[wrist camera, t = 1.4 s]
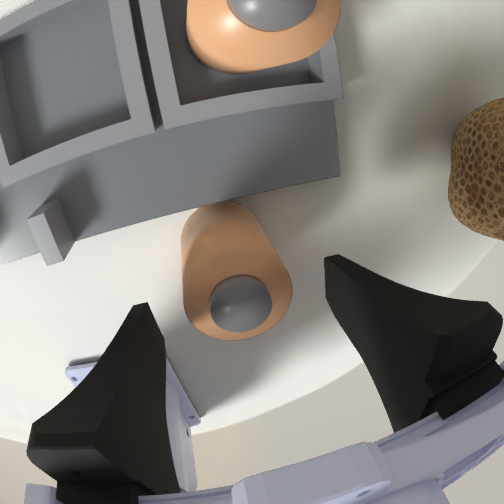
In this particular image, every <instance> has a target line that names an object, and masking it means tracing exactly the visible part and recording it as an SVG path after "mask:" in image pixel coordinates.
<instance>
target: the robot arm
mask: <svg viewBox="0 0 504 504" xmlns="http://www.w3.org/2000/svg"><path fill="white" fill-rule="evenodd" d="M324 267H325V290H326V299H327V301H328V303H329V306H330V308H331V310H332V312H333V314H334V316H335V318H336V319H337V321H338V322H339V324H340V325H341V327H342V328H343V330H344V331H345V333H346V334H347V336H348V337H349V339H350V340H351V342H352V343H353V345H354V346H355V348H356V350H357V351H358V353H359V354H360V356H361V357H362V359H363V361H364V363H365V365H366V367H367V369H368V371H369V373H370V375H371V377H372V379H373V381H374V383H375V386H376V388H377V390H378V392H379V395H380V397H381V399H382V402H383V404H384V407H385V409H386V411H387V414H388V417H389V419H390V422H391V425H392V428H393V431H394V433H393V434H391V435H389V436H387V437H385V438H382V439H380V440H378V441H375V442H373V443H371V442H361V443H358V444H354V445H351V446H347V447H344V448H341V449H339V450H336V451H333V452H330V453H327V454H324V455H322V456H318V457H315V458H312V459H309V460H306V461H302V462H299V463H296V464H292V465H289V466H285V467H282V468H278V469H274V470H270V471H266V472H262V473H259V474H256V475H253V476H250V477H247V478H244V479H243V480H241V481H239V482H238V483H236V484H235V485H230V486H225V487H219V488H213V489H206V490H199V491H196V488H197V477H196V470H195V462H194V455H193V447H192V439H191V430H190V427H191V426H196V425H199V424H200V423H201V420H200V417H199V416H198V414H197V412H196V410H195V409H194V407H193V405H192V403H191V402H190V400H189V398H188V396H187V394H186V393H185V391H184V389H183V387H182V385H181V383H180V382H179V380H178V378H177V376H176V374H175V372H174V370H173V368H172V366H171V365H170V363H169V361H168V359H167V357H166V351H165V342H164V338H163V336H162V333H161V331H160V329H159V327H158V325H157V323H156V320H155V318H154V316H153V314H152V311H151V309H150V307H149V305H148V302H146V303H142V304H138V305H133V307H132V308H131V310H130V312H129V313H128V315H127V317H126V318H125V320H124V322H123V324H122V325H121V327H120V329H119V330H118V332H117V333H116V335H115V337H114V338H113V340H112V342H111V343H110V344H109V346H108V347H107V349H106V350H105V352H104V353H103V355H102V356H101V358H100V359H99V361H98V362H94V363H88V364H82V365H76V366H69V367H67V368H66V369H65V374H66V376H67V377H68V378H69V380H70V381H71V382H72V383H73V385H74V386H75V387H76V388H75V389H74V390H73V391H72V392H71V393H70V394H69V395H68V396H67V397H66V398H64V399H63V400H62V401H61V402H60V403H59V404H58V405H56V406H55V407H54V408H53V409H52V410H50V411H49V412H48V413H46V414H45V415H44V416H42V417H41V418H39V419H38V420H37V421H35V422H34V423H33V424H32V428H31V432H30V437H29V442H28V447H27V456H28V458H29V459H30V460H31V462H32V463H33V464H34V465H36V466H37V467H38V468H39V469H41V470H42V471H44V472H45V473H46V474H48V475H49V476H50V477H52V478H53V479H55V480H57V488H54V487H52V486H47V485H37V484H30V483H28V484H26V490H25V499H24V504H450V503H449V501H448V499H447V497H446V496H445V494H444V492H443V490H442V489H444V488H445V487H447V486H448V485H450V484H451V483H453V482H454V481H456V480H457V479H459V478H460V477H462V476H463V475H465V474H466V473H467V472H469V471H470V470H472V469H473V468H474V467H476V466H477V465H478V464H480V463H481V462H482V461H484V460H485V459H486V458H488V457H489V456H490V455H491V454H493V453H494V452H495V451H496V450H497V449H499V448H500V447H501V446H502V445H504V361H503V362H502V363H501V364H500V365H498V364H497V363H496V361H495V360H496V358H497V355H496V354H495V353H494V351H493V348H494V345H495V343H496V341H497V338H498V336H499V334H500V332H501V329H502V323H503V318H502V315H501V314H500V313H499V312H498V311H497V310H496V309H495V308H493V307H492V306H491V305H490V304H489V303H488V302H483V301H468V300H459V299H453V298H447V297H442V296H438V295H434V294H429V293H426V292H422V291H419V290H416V289H413V288H410V287H407V286H404V285H401V284H399V283H396V282H394V281H392V280H389V279H387V278H385V277H383V276H380V275H378V274H376V273H374V272H372V271H370V270H368V269H366V268H364V267H362V266H360V265H358V264H357V263H355V262H353V261H351V260H349V259H347V258H345V257H343V256H341V255H339V254H337V255H333V256H329V257H325V258H324Z"/></svg>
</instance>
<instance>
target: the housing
mask: <svg viewBox="0 0 504 504" xmlns="http://www.w3.org/2000/svg"><path fill="white" fill-rule="evenodd" d="M187 4H188V0H38V1H35V2H34V3H32V4H30V5H28V6H26V7H24V8H22V9H20V10H18V11H16V12H15V13H13V14H11V15H9V16H8V17H6V18H4V19H3V20H1V21H0V266H2V265H4V264H7V263H10V262H13V261H16V260H19V259H22V258H25V257H28V256H31V255H34V254H37V253H40V252H41V255H42V257H43V259H44V261H45V263H46V265H47V266H48V265H52V264H55V263H58V262H62V261H64V260H65V258H66V256H67V254H68V253H69V251H70V249H71V247H72V246H73V244H74V242H75V241H78V240H81V239H85V238H88V237H91V236H95V235H98V234H101V233H105V232H108V231H112V230H115V229H119V228H122V227H126V226H129V225H133V224H136V223H140V222H144V221H147V220H151V219H155V218H158V217H162V216H166V215H170V214H174V213H177V212H181V211H185V210H189V209H193V208H197V207H201V206H205V205H209V204H213V203H217V202H222V201H226V200H230V199H234V198H239V197H243V196H247V195H252V194H256V193H261V192H265V191H270V190H274V189H279V188H283V187H288V186H293V185H298V184H303V183H308V182H312V181H317V180H323V179H328V178H333V177H338V176H340V167H339V155H338V143H337V133H336V123H335V114H334V105H333V100H335V99H343V94H342V86H341V78H340V70H339V63H338V57H337V50H336V44H335V38H334V33H333V35H332V36H331V38H330V39H329V40H328V42H327V43H326V44H325V45H324V46H323V47H322V48H320V49H319V50H318V51H317V52H315V53H313V54H312V55H310V56H308V57H306V58H304V59H301V60H299V61H295V62H292V63H288V64H283V65H279V66H275V67H271V68H267V69H263V70H259V71H256V72H252V73H247V74H240V75H232V74H225V73H221V72H218V71H215V70H213V69H211V68H209V67H207V66H206V65H204V64H203V63H202V62H200V61H199V60H198V59H197V58H196V56H195V55H194V54H193V52H192V51H191V49H190V47H189V45H188V42H187V38H186V17H187Z"/></svg>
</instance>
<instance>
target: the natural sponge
mask: <svg viewBox="0 0 504 504" xmlns="http://www.w3.org/2000/svg"><path fill="white" fill-rule="evenodd" d="M448 199H449V204H450V207H451V210H452V212H453V214H454V215H455V217H456V218H457V219H458V220H459V221H460V222H461V223H462V224H464V225H465V226H466V227H468V228H469V229H471V230H473V231H475V232H477V233H480V234H483V235H486V236H489V237H492V238H496V239H499V240H504V98H501V99H497V100H494V101H492V102H490V103H488V104H486V105H484V106H482V107H480V108H478V109H476V110H474V111H473V112H472V113H470V114H469V115H468V116H467V117H466V118H465V119H464V120H463V121H462V122H461V123H460V125H459V126H458V128H457V130H456V132H455V134H454V138H453V141H452V145H451V173H450V179H449V186H448Z"/></svg>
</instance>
